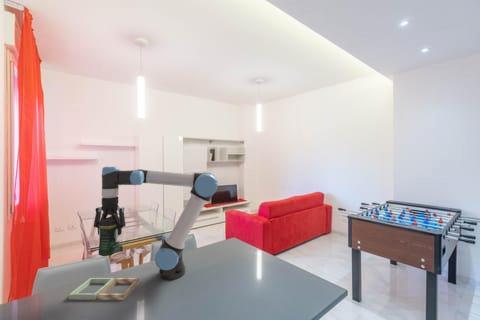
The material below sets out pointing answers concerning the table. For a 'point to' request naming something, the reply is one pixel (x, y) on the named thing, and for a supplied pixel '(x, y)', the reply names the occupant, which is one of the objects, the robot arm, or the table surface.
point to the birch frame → (104, 296)
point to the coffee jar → (108, 237)
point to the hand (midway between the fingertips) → (109, 240)
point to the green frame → (89, 296)
